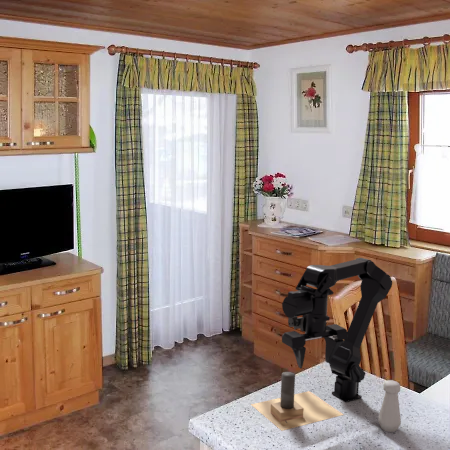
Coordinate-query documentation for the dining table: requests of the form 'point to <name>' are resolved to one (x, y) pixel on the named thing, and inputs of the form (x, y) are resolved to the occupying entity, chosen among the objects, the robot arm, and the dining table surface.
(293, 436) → the dining table surface
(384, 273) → the robot arm
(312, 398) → the pine board
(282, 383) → the rubber stamp
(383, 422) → the salt shaker
